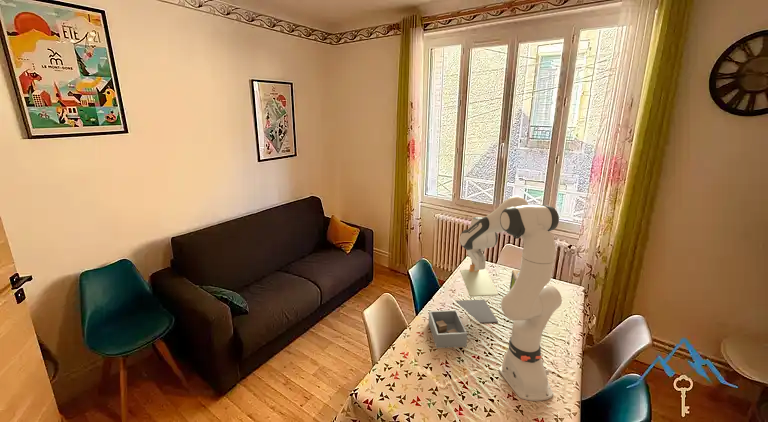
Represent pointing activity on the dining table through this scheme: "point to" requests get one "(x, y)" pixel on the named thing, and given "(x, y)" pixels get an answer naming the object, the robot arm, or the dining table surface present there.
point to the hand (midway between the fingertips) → (474, 269)
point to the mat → (478, 310)
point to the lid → (478, 282)
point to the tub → (452, 323)
